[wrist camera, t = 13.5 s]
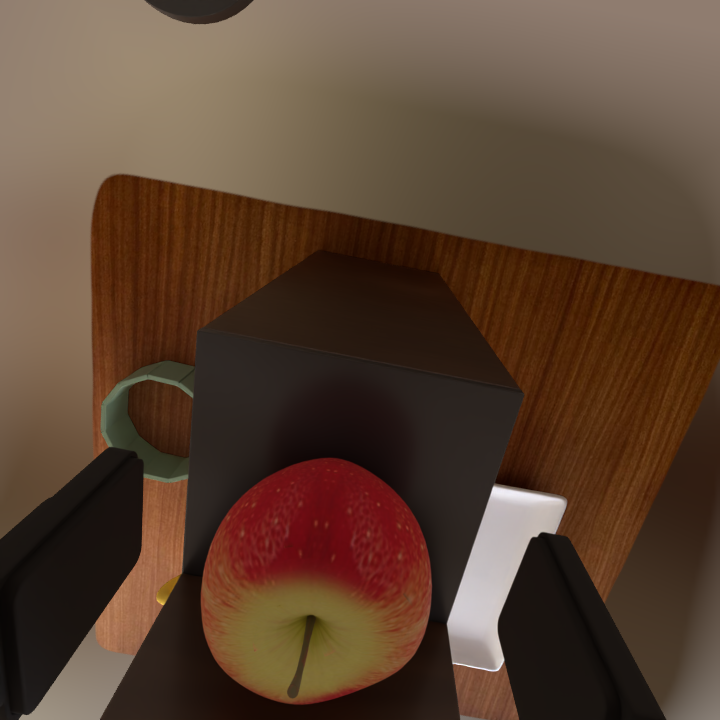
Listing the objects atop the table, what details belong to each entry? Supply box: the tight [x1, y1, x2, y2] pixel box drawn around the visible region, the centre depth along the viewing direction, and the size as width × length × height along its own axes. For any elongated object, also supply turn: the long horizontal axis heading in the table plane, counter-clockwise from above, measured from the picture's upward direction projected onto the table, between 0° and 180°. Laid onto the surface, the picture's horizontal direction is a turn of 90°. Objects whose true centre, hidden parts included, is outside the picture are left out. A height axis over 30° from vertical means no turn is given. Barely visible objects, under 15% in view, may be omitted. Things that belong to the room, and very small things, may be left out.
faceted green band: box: [101, 360, 195, 483], centre depth 56 cm, size 14×14×5 cm
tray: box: [447, 483, 567, 671], centre depth 62 cm, size 17×32×4 cm, turn 170°
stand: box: [100, 250, 524, 720], centre depth 32 cm, size 14×14×44 cm
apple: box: [201, 458, 432, 705], centre depth 16 cm, size 8×8×10 cm
